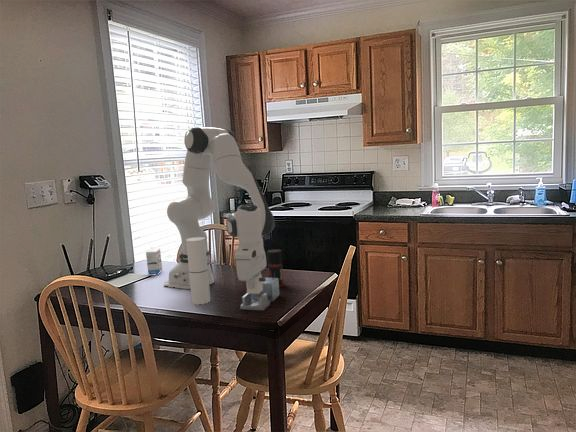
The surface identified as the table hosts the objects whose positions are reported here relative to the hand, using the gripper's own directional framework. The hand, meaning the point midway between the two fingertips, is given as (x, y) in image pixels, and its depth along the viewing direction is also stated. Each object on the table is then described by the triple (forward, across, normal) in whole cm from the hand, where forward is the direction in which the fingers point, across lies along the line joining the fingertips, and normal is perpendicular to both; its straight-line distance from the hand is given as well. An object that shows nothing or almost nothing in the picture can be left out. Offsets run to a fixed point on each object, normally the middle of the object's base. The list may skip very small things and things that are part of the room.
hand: (254, 286), depth 174 cm
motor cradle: (+8, -6, 0) cm, 10 cm away
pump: (+2, 0, 0) cm, 2 cm away
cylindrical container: (+8, -3, -24) cm, 26 cm away
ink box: (+8, -42, -70) cm, 82 cm away
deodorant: (+8, -27, -1) cm, 28 cm away
